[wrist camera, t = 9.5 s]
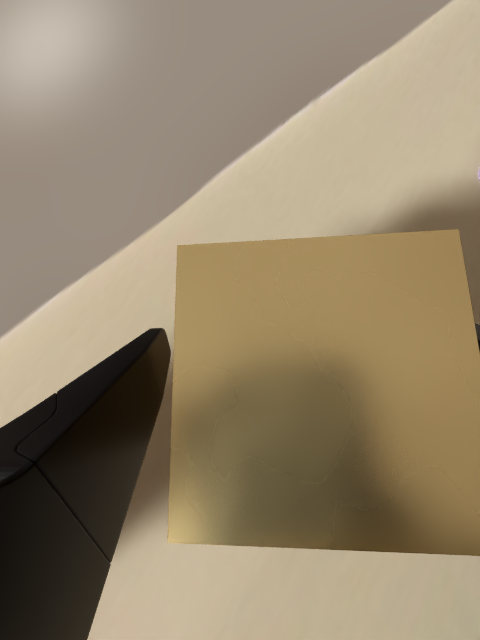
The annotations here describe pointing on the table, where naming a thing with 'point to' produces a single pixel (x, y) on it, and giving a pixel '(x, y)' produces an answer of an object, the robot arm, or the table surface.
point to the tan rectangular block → (326, 395)
